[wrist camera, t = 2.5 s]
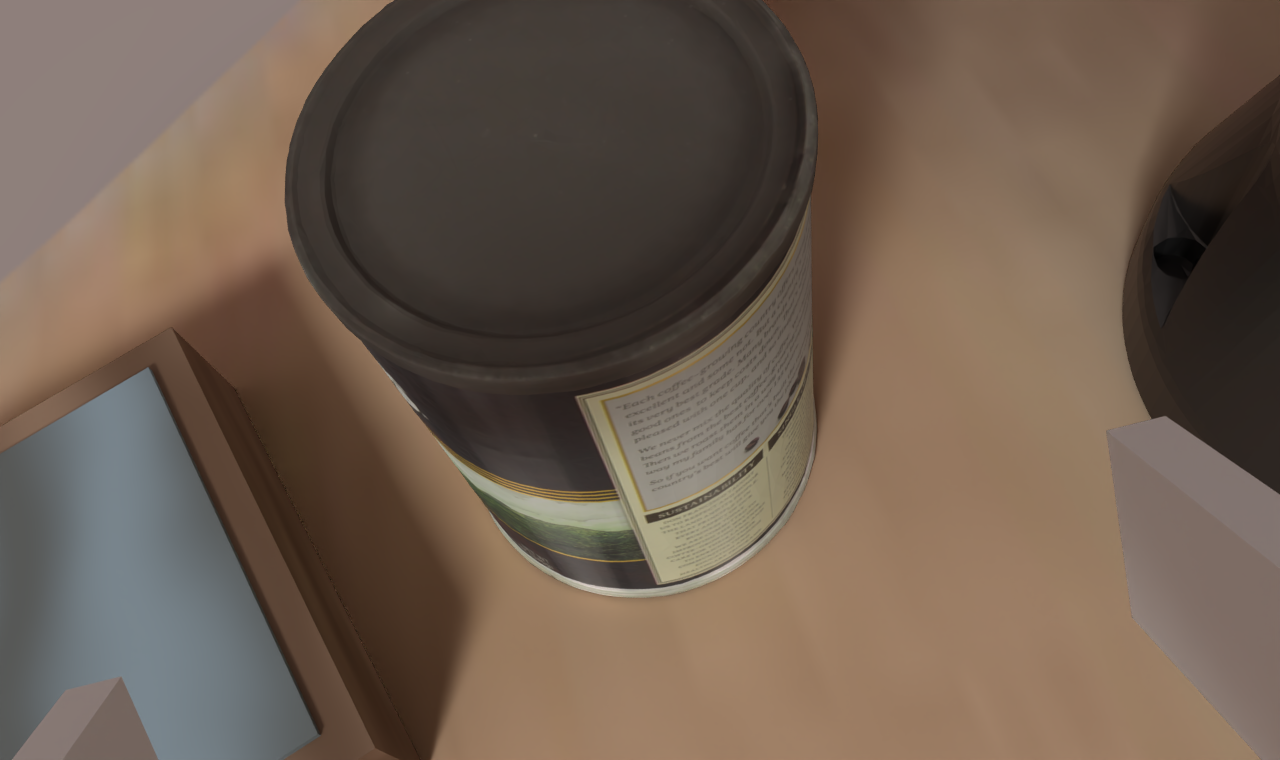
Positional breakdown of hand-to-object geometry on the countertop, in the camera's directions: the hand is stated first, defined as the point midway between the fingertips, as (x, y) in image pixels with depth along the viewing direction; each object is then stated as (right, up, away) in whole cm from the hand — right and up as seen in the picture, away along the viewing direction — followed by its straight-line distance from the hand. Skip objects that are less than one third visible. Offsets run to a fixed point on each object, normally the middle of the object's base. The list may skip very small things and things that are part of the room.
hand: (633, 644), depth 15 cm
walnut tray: (-15, -6, +18) cm, 24 cm away
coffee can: (0, +2, +20) cm, 20 cm away
